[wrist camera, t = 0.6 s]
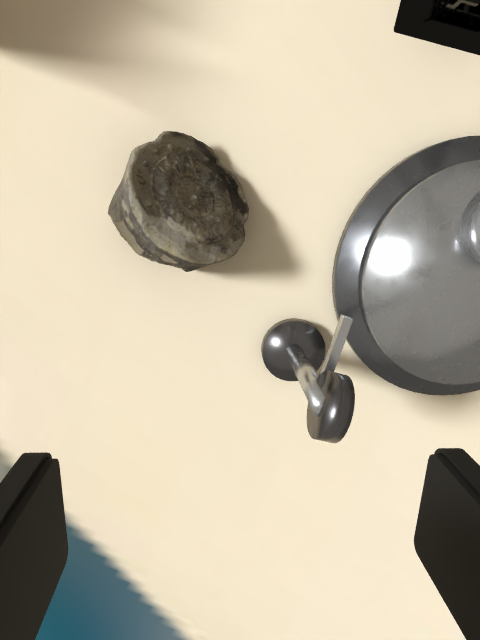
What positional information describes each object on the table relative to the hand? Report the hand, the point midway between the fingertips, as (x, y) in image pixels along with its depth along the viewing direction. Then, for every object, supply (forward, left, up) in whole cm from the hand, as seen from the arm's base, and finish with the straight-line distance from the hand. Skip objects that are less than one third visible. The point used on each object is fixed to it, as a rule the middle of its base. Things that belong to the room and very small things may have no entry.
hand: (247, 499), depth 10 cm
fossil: (-6, -5, -29) cm, 30 cm away
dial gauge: (+3, +8, -28) cm, 30 cm away
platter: (-7, +21, -27) cm, 35 cm away
